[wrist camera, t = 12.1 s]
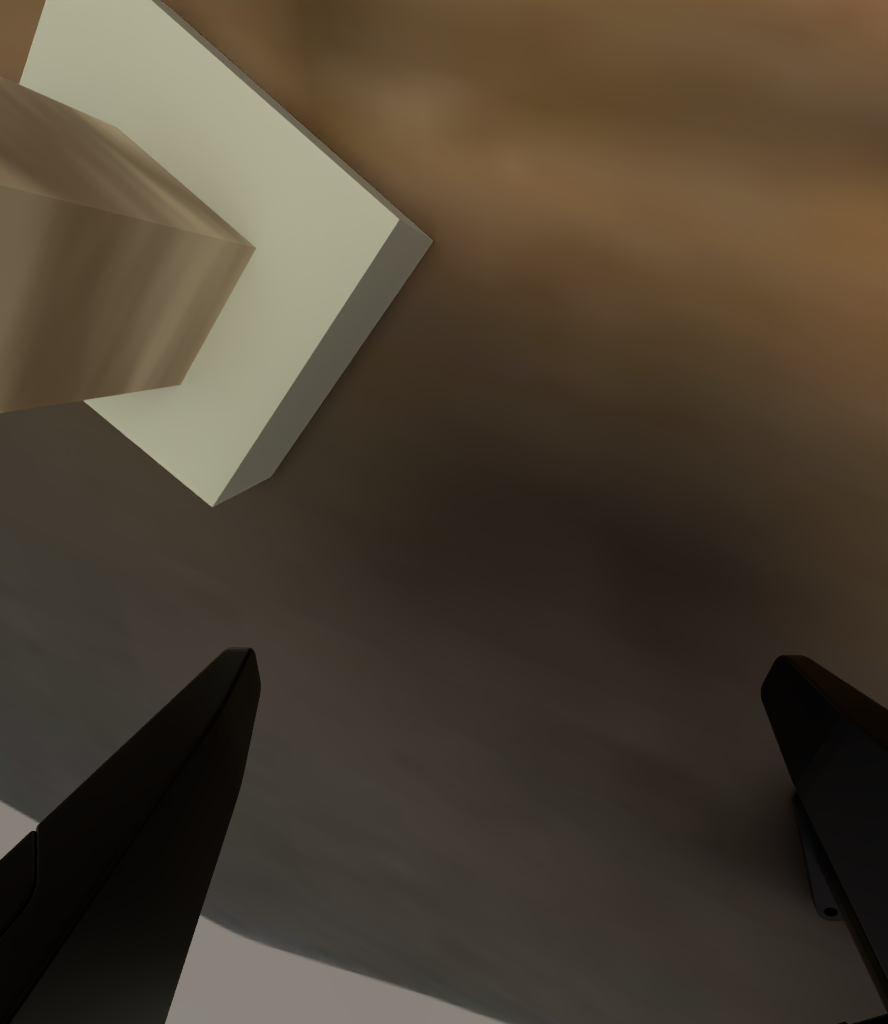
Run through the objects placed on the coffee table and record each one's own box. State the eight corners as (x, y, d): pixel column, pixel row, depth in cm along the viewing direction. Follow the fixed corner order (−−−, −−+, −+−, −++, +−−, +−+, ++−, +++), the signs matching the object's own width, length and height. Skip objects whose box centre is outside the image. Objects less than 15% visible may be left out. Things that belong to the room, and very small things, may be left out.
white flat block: (433, 240, 18) (399, 219, 14) (271, 476, 22) (212, 507, 18) (174, 11, 17) (69, -73, 14) (57, 297, 22) (-48, 293, 18)
